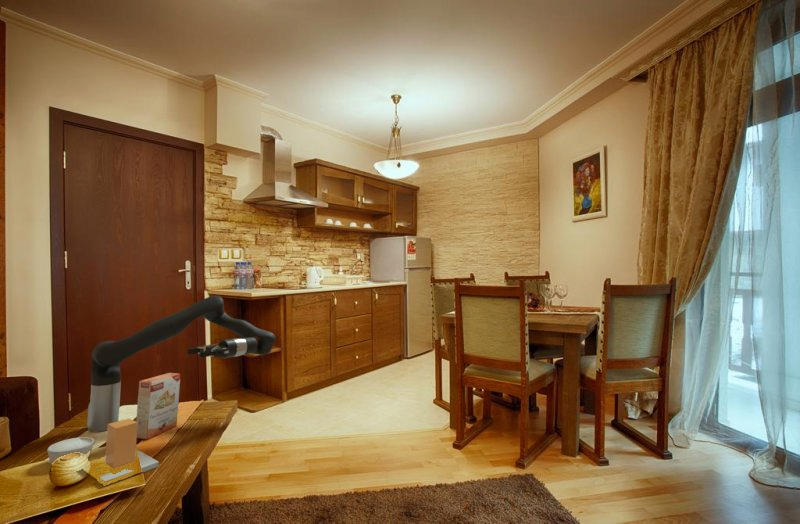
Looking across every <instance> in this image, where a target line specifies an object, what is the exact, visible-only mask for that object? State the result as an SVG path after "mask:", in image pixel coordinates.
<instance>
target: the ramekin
mask: <svg viewBox="0 0 800 524" xmlns="http://www.w3.org/2000/svg"><path fill="white" fill-rule="evenodd" d="M94 444H95V439H94V438H92V437H86V436H84V437H83V436H82V437H81V436H80V437H73V438H67V439H64V440H61V441H58V442H56V443H52V444H51V445H50V446H49V447H48V448H47V451H46V452H47V454H48V460H49V464H50V465H51V464H52V463H53V462H54V461H55V460H56V459H57V458H59V457H61V456H64V455H67V454H70V453H74V452H80V453H83V454H87V453H88V452H89V451H91V452H92V449H93V446H94Z"/></svg>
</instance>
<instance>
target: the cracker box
mask: <svg viewBox="0 0 800 524" xmlns="http://www.w3.org/2000/svg"><path fill="white" fill-rule="evenodd" d="M180 384H181V374H180V373H175V372H166V373H163V374H160V375H157V376H153V377H150V378H146V379H142V380H140V381H139V382H138V394H137V409H136V420H135V421H136V422H138V423H137V439H141V440H149V439H151V438H154V437H156V436H158V435H161V434H162V433H165V432H166V431H169V430H171V429H172V428H175V427H177V426H178V414H179V413H178V411H179V399H180V386H181V385H180Z"/></svg>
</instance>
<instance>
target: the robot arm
mask: <svg viewBox="0 0 800 524" xmlns="http://www.w3.org/2000/svg"><path fill="white" fill-rule="evenodd" d="M202 316H203V318H204V319H205V320H206V321H209V322H210V323H212V324H215V325H217V326H220V327H222V328H224V329H227V330H229V331H230V332H232V333H234V334H236V335H238V338H227V339H222V340H220V341H219V342H218V344H205V345H197V346H195V347H191V348H188V349H187V355H189V356H190V355H196V354H198V355H199V358H207V357H211V358H213V357H214V358H218V357H220V358H221V359H228V358H234V357H240V356H243V355H250V354H252V355H253V354H254V355H260V356H266V355H268V354H270V353H271V351H272V349H273V347H274V345H275V342H276V338H277V337H276V335H275V334H274V333H273V332H271V331H268V330H265V329H261V328H258V327H256V326H255V325H253V324H252V323H250V322H248V321H247V320H244V319H239V318H233V317H232V316H230V315H228V314H227V313H226V311H225V302H224V298H222V297H221V296H219V295H212V296H208V297H206V298H204V299H202V300H200V301H197V302H196V303H194V304H192V305H191V306H188V307H186V308H184V309H182V310H179V311H177V312H175V313H173V314H171V315H168V316H165V317H163V318H161V319H159V320H156V321H154V322H152V323H150V324H148V325H146V326H145V327H144V328H142V329H141V330H139V331H138V332H136V333H135V334H133V335H130V336H127V337H125V338H123V339H122V338H121V339H119V340H116V341H113V340H105V341H101V342H99V343H98V344H97V345H95V347H94V348H93V350H92V353H91V360H90V361H91V365H90V378H91V384H90V398H89V400H90V402H89V403H88V407H87V408H88V409H87V421H86V422H87V424H86V429H87V430H88V432H105V431H107V426H108V424H110V423H114V422H117V421H120V420H119V417H120V403H121V388H122V387H121V386H122V373H121V372H122V371H121V363H122V362H123V361H125V360H127V359H129V358H131V356H132V357H133V356H134V355H135V354H138V353H140V352H141V351H143V350H146V349H149V348H151V347H154V346H156V345H158V344H161V343H162V342H165V341H167V340H170V339H172V338H174V337H176V336H178V335H180V334H181V333H183V331H185V329H186V328H187V327H189V326H190V325H191V324H192V323H193V322H194V321H195V320H197V319H198V318H200V317H202ZM257 338H258V340H257Z"/></svg>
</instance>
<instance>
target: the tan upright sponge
mask: <svg viewBox="0 0 800 524" xmlns="http://www.w3.org/2000/svg"><path fill="white" fill-rule="evenodd" d="M137 423H138V422H136V420H133V419H131V418H125V419H121V420H118V421H117V422H114V423H110V424H108V426H107V430H106V442H105V443H106V444H105V456H106V457H105V463H106V464H107V465H109V466H110V467H112V468H113V469H114V468H116V467H120V466H123V465H125V464H128V463H131V462H133V461H135V456H136V449H137V439H138V438H137Z"/></svg>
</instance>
